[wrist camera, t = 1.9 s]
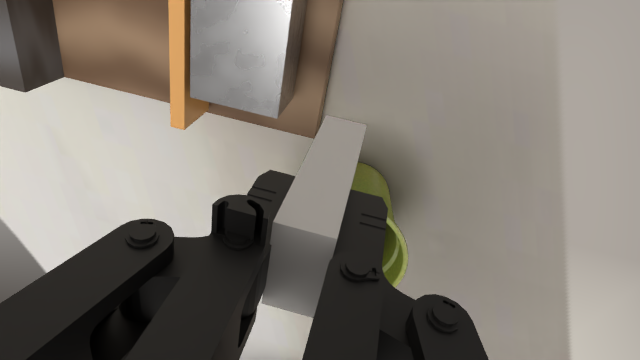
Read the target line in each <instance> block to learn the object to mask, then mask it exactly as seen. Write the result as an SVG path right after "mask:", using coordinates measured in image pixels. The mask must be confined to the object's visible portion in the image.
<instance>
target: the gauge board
mask: <svg viewBox="0 0 640 360" xmlns="http://www.w3.org/2000/svg"><path fill="white" fill-rule="evenodd" d="M342 5H343V0H307V5H306V12H305V19H304V25H303V32H302V39H301V46H300V53H299V60H298V67H297V74H296V81H295V87H294V94H293V99H292V100H291V102H290V103H289V104H288V106H287V107H286V108H285V109H284V111H283V112H282V113H281V115H280V116H279V117H278V119H276V118H272V117H268V116H264V115H260V114H256V113H252V112H248V111H244V110H240V109H236V108H232V107H228V106H223V105H219V104H215V103H211V102H209V110H208V111H206V112H208V113H212V114H216V115H221V116H225V117H229V118H233V119H237V120H241V121H245V122H249V123H253V124H257V125H261V126H265V127H269V128H273V129H277V130H281V131H285V132H289V133H293V134H297V135H301V136H305V137H309V138H313V139H314V138H315V136H316V134H317V132H318V130H319V127H320V122H321V117H322V111H323V106H324V101H325V95H326V90H327V85H328V80H329V74H330V69H331V64H332V58H333V53H334V48H335V42H336V37H337V32H338V26H339V21H340V16H341V10H342ZM63 77H67V78H71V79H75V80H79V81H83V82H87V83H91V84H95V85H99V86H103V87H107V88H111V89H115V90H120V91H124V92H128V93H132V94H136V95H140V96H144V97H148V98H152V99H156V100H160V101H164V102H168V103H170V61H169V9H168V0H0V86H2V87H6V88H10V89H14V90H18V91H21V92H28V91H30V90H33V89H35V88H38V87H40V86H43V85H45V84H48V83H50V82H53V81H55V80H58V79H60V78H63Z"/></svg>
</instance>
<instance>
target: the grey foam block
mask: <svg viewBox="0 0 640 360" xmlns="http://www.w3.org/2000/svg"><path fill="white" fill-rule="evenodd" d="M306 5H307V0H191V36H190V97H191V98H195V99H199V100H203V101H207V102H211V103H215V104H219V105H223V106H228V107H232V108H236V109H240V110H244V111H248V112H252V113H256V114H260V115H264V116H268V117H272V118H276V119H278V117H279V116H280V115H281V113H282V112H283V111H284V109H285V108H286V107H287V106H288V104H289V103H290V102H291V100H292V99H293V94H294V87H295V81H296V74H297V67H298V60H299V53H300V46H301V39H302V32H303V25H304V19H305V12H306Z"/></svg>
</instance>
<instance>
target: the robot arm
mask: <svg viewBox="0 0 640 360" xmlns="http://www.w3.org/2000/svg"><path fill="white" fill-rule="evenodd" d="M366 127H367V125H366V124H362V123H357V122H353V121H349V120H345V119H341V118H337V117H333V116H328V115H326V117H325V119H324V121H323V123H322V125H321V127H320V129H319V131H318V133H317V135H316V137H315V139H314V141H313V143H312V145H311V147H310V149H309V151H308V153H307V155H306V157H305V159H304V161H303V163H302V165H301V167H300V169H299V171H298V173H297V175H296V176H292V175H288V174H284V173H281V172H277V171H273V170H269V171H267V172H266V173H264V174H262V175H260V176H259V177H258V178H257V180H256V181H255V183H254V184H253V186H252V188H251V189H250V190H249V192H248V194H247V196H246V195H228V196H226V197H223V198H220V199H218V200H217V201H216V202H215V203H214V204H213V205H212V230H211V234H210V235H209V236H205V237H194V238H191V237H174V233H173V231H172V228H171V227H170V226H168V225H167V224H166V223H164V222H162V221H158V220H155V219H139V220H134V221H130V222H128V223H126V224H123V225H121V226H120V227H118V228H116V229H115V230H113V231H112V232H110V233H109V234H107V235H106V236H104V237H102V238H101V239H99V240H98V241H96V242H95V243H93V244H92V245H90V246H88V247H87V248H85V249H84V250H82V251H81V252H79V253H78V254H76V255H75V256H73V257H71V258H70V259H68V260H67V261H65V262H64V263H62V264H61V265H59V266H57V267H56V268H54V269H53V270H51V271H50V272H48V273H47V274H45V275H44V276H42V277H40V278H39V279H37V280H36V281H34V282H33V283H31V284H30V285H28V286H26V287H25V288H23V289H22V290H21V291H19V292H17V293H16V294H14V295H12V296H11V297H10V298H8V299H6V300H5V301H3V302H2V303H0V360H239V358H240V356H241V353H242V351H243V348H244V346H245V344H246V341H247V339H248V336H249V334H250V332H251V329H252V327H253V324H254V322H255V318H256V312H257V306H258V303H259V301H260V299H261V296H262V294H263V297H262V303H263V304H266V305H270V306H273V307H277V308H280V309H284V310H287V311H291V312H294V313H298V314H301V315H305V316H309V317H312V318H314V319H313V322H312V326H311V330H310V333H309V337H308V341H307V344H306V348H305V352H304V355H303V359H302V360H488V357H487V355H486V352H485V350H484V348H483V345H482V343H481V340H480V338H479V335H478V333H477V331H476V328H475V326H474V323H473V321H472V319H471V318H470V316H469V315H468V313H467V311H466V310H465V309H463V308H462V307H461V306H460V305H459V304H458V303H456V302H455V301H453V300H451V299H449V298H447V297H444V296H440V295H436V294H432V295H424V296H422V297H420V298H418V299H417V300H414V299H412V298H410V297H409V296H407V295H405V294H403V293H402V292H400V291H399V290H397V289H396V288H395V287H393V286H392V285H391V284H390V283H389V281H388V280H387V278H386V277H385V275H384V272H383V269H382V261H383V252H384V242H385V233H386V231H385V230H386V224H387V222H386V221H387V214H388V207H387V206H386V204H385V202H384V200H383V198H382V197H379V196H375V195H371V194H367V193H363V192H360V191H356V190H352V189H351V186H352V182H353V178H354V175H355V171H356V167H357V163H358V159H359V155H360V151H361V147H362V143H363V139H364V135H365V131H366Z"/></svg>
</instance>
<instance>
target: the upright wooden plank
mask: <svg viewBox="0 0 640 360" xmlns="http://www.w3.org/2000/svg"><path fill="white" fill-rule="evenodd" d="M168 9H169V61H170V114H171V127H175V128H179V129H183V130H185V129H186V128H187V127H188V126H190V125H191V124H192V123H193V122H194V121H196V120H197V119H198V118H199V117H200V116H202V115H203V114H204V113H205V112H206V111H208V110H209V102H207V101H203V100H199V99H195V98H191V97H190V36H191V0H168Z"/></svg>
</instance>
